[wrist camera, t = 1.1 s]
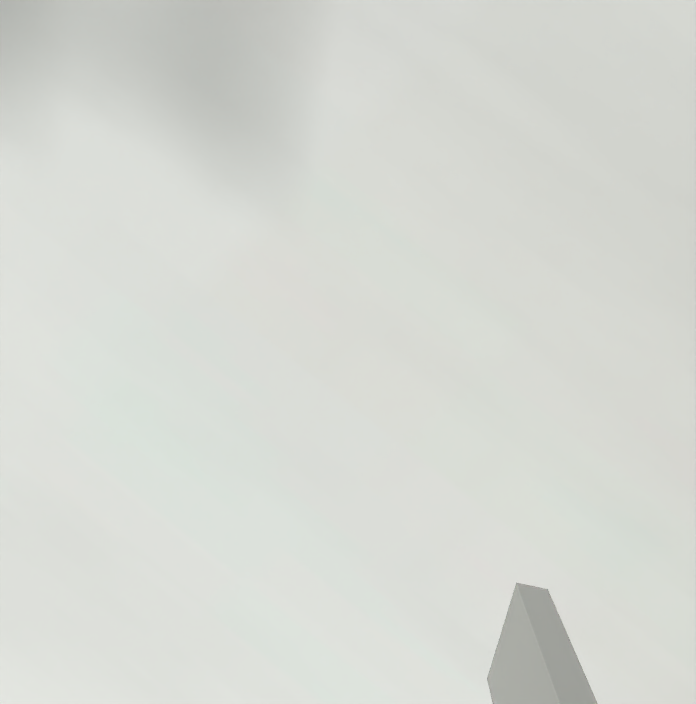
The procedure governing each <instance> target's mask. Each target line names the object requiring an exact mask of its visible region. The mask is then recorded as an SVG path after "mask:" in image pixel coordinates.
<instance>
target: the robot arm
mask: <svg viewBox="0 0 696 704" xmlns="http://www.w3.org/2000/svg"><path fill="white" fill-rule="evenodd" d="M487 680H488V685H489V689H490V693H491V698H492V702H493V704H597V701H596V699H595V697H594V694H593V692H592V690H591V688H590V685H589V683H588V681H587V678H586V676H585V674H584V672H583V669H582V667H581V665H580V662H579V660H578V658H577V655H576V653H575V651H574V649H573V646H572V644H571V642H570V639H569V637H568V635H567V633H566V630H565V628H564V626H563V623H562V621H561V619H560V616H559V614H558V612H557V610H556V607H555V605H554V603H553V600H552V598H551V596H550V594H549V591H548V589H543V588H539V587H534V586H529V585H525V584H520V583H516V586H515V589H514V592H513V596H512V599H511V602H510V606H509V609H508V612H507V615H506V619H505V622H504V625H503V628H502V632H501V635H500V638H499V641H498V645H497V648H496V651H495V655H494V658H493V661H492V664H491V668H490V671H489V674H488V677H487Z"/></svg>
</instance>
